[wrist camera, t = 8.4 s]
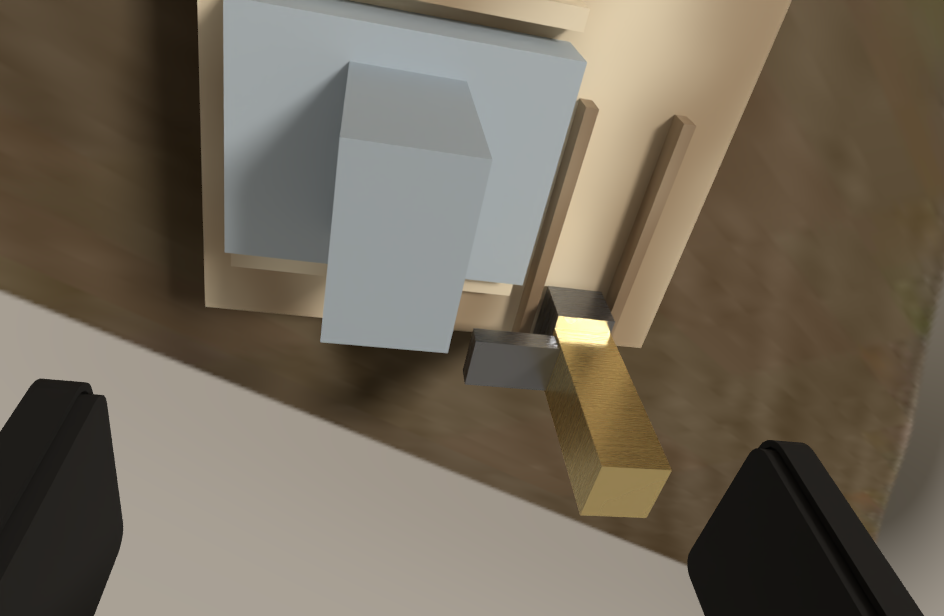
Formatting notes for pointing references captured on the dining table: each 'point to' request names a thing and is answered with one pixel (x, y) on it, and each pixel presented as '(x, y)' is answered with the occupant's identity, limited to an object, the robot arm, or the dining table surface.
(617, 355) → the latch
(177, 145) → the dining table surface
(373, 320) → the cover
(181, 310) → the dining table surface
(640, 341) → the tan box base
